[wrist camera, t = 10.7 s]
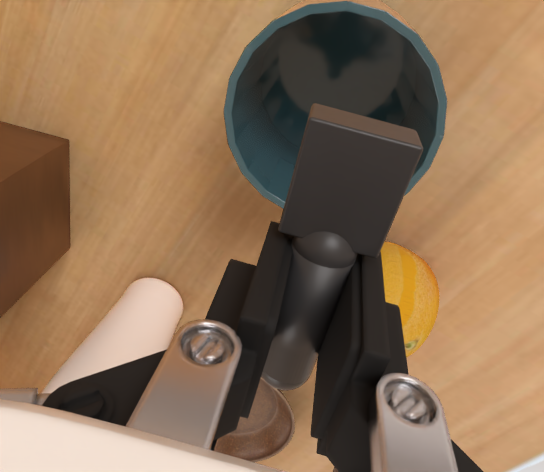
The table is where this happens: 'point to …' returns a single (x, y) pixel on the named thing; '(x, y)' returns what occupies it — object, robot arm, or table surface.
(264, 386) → the saucer
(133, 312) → the tall white cup
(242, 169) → the tumbler
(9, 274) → the stand
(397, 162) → the dark grey mallet
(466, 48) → the table surface
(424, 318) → the fruit
